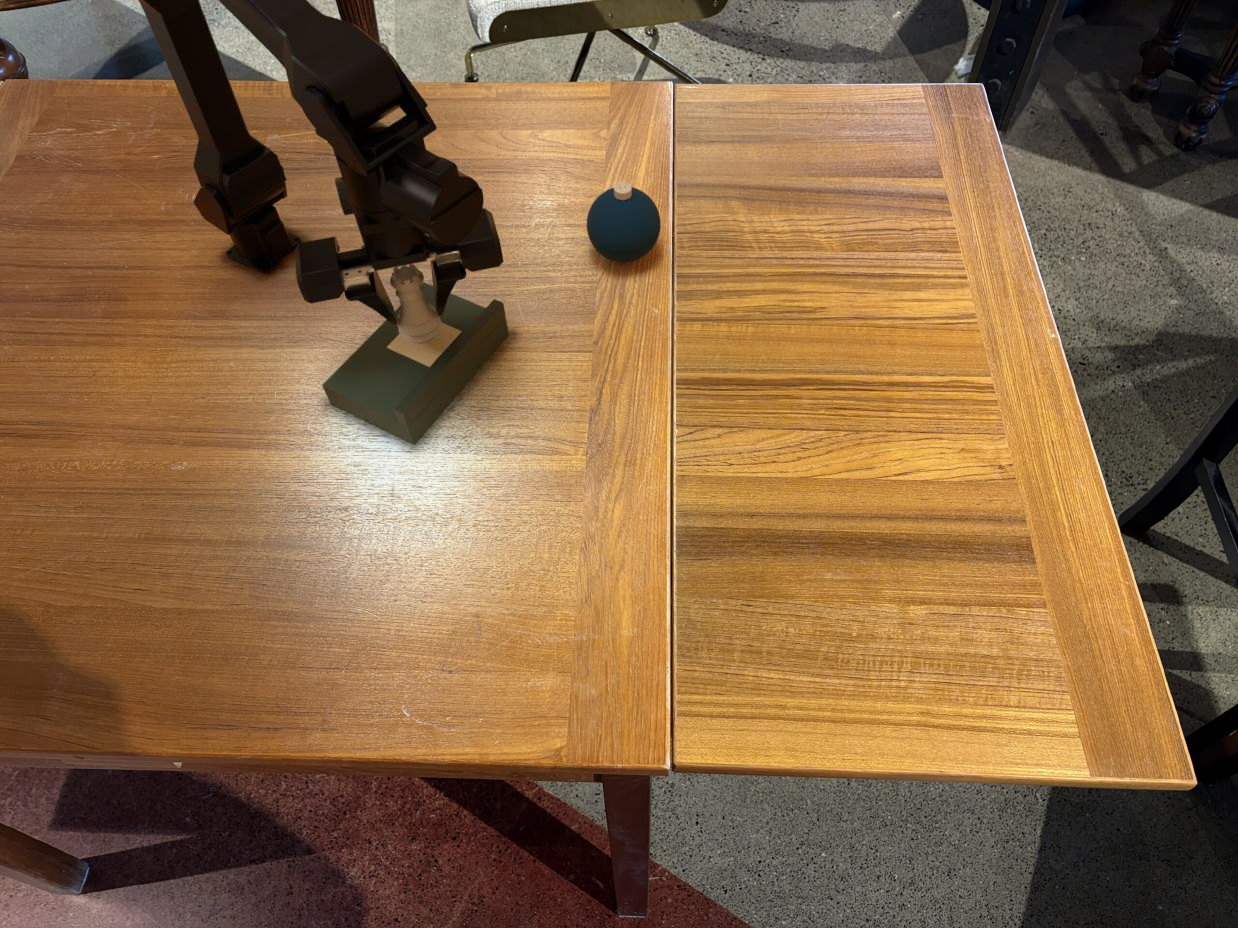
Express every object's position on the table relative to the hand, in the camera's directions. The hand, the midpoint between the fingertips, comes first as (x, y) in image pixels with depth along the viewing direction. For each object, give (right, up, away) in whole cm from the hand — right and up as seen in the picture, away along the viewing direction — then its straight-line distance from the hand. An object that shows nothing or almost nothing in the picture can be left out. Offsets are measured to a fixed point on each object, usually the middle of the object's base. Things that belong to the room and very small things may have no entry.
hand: (417, 317), depth 91 cm
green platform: (-1, -5, +4) cm, 6 cm away
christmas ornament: (+21, +10, +14) cm, 27 cm away
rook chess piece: (0, -1, +2) cm, 2 cm away
